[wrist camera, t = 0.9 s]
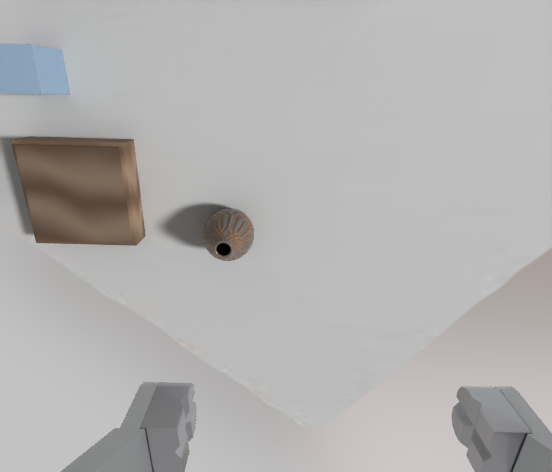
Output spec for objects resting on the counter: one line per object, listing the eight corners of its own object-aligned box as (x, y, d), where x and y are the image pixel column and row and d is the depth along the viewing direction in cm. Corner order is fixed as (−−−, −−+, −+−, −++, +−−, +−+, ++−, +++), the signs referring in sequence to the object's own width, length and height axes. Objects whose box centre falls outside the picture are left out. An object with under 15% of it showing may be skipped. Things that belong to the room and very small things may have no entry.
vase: (200, 214, 52) (185, 236, 43) (242, 195, 50) (235, 215, 42) (222, 253, 54) (211, 281, 46) (263, 236, 53) (260, 262, 45)
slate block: (22, 49, 44) (-16, 43, 38) (62, 50, 44) (31, 44, 38) (31, 92, 46) (-3, 92, 40) (70, 94, 46) (41, 94, 40)
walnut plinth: (29, 136, 48) (8, 140, 44) (133, 139, 48) (121, 143, 44) (51, 233, 53) (34, 243, 49) (145, 235, 53) (135, 246, 49)
